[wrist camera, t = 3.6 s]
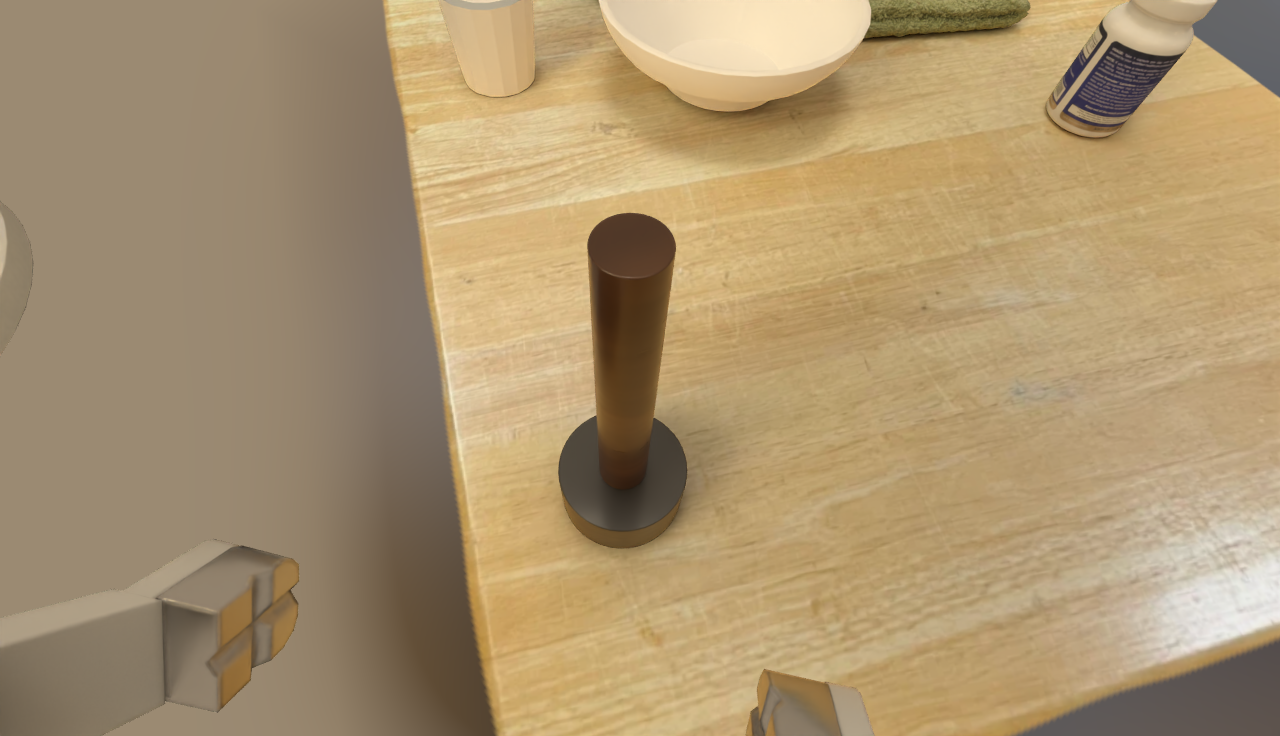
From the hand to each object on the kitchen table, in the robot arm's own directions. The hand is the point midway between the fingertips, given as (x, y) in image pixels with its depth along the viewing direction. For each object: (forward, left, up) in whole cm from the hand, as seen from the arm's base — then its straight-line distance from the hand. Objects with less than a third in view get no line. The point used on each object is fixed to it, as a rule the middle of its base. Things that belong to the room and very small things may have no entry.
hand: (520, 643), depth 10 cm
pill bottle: (-3, +55, -18) cm, 58 cm away
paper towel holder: (-5, +7, -18) cm, 20 cm away
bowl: (-25, +36, -18) cm, 48 cm away
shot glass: (-37, +23, -18) cm, 48 cm away
